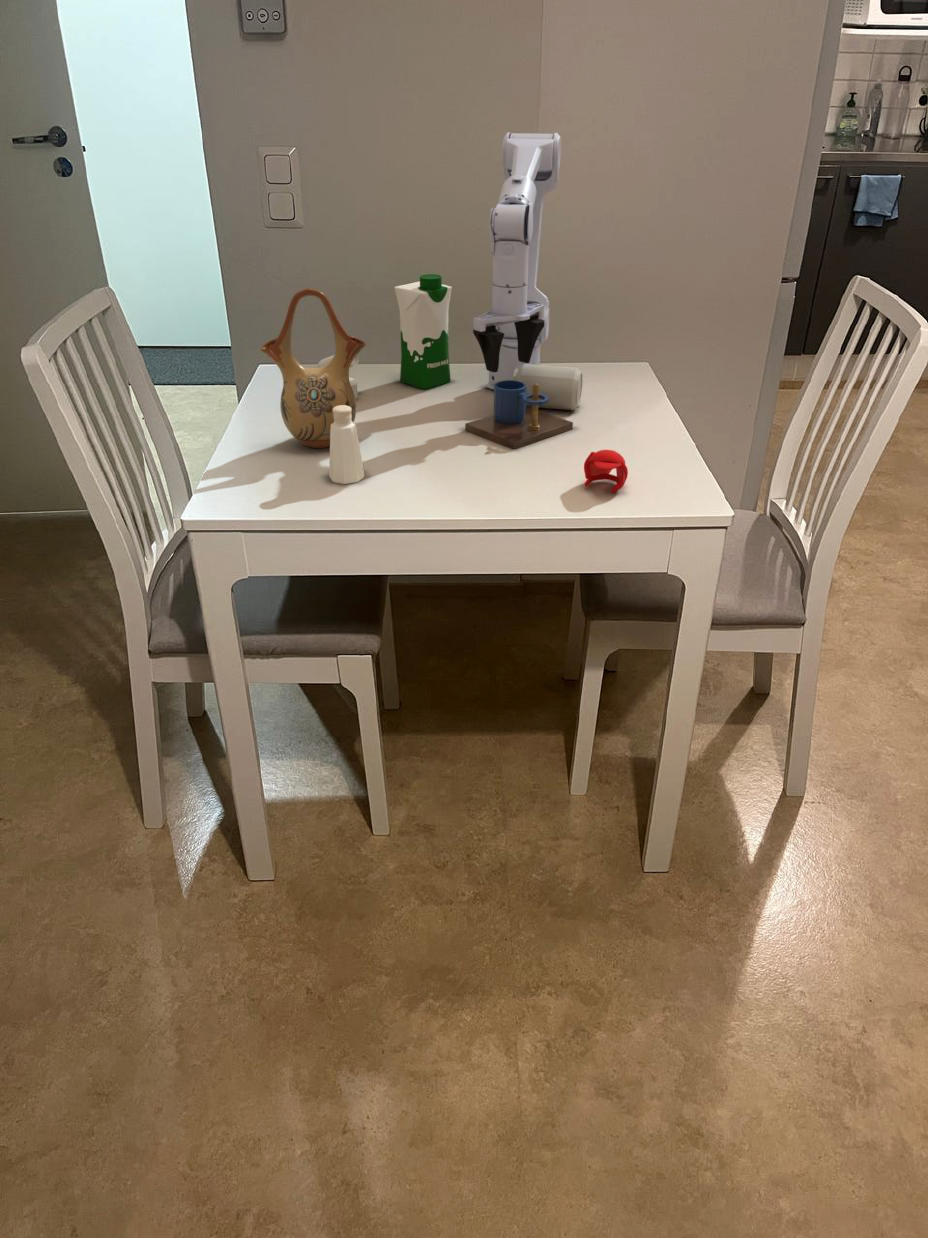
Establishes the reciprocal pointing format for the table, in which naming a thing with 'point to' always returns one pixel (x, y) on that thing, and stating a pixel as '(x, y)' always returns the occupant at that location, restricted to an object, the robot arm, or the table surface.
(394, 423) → the table surface
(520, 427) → the peg stand
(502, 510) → the table surface
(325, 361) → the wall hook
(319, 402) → the ceramic vessel
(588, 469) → the red hollow rounded piece
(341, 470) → the pepper shaker
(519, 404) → the cup
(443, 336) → the milk carton
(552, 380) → the can
